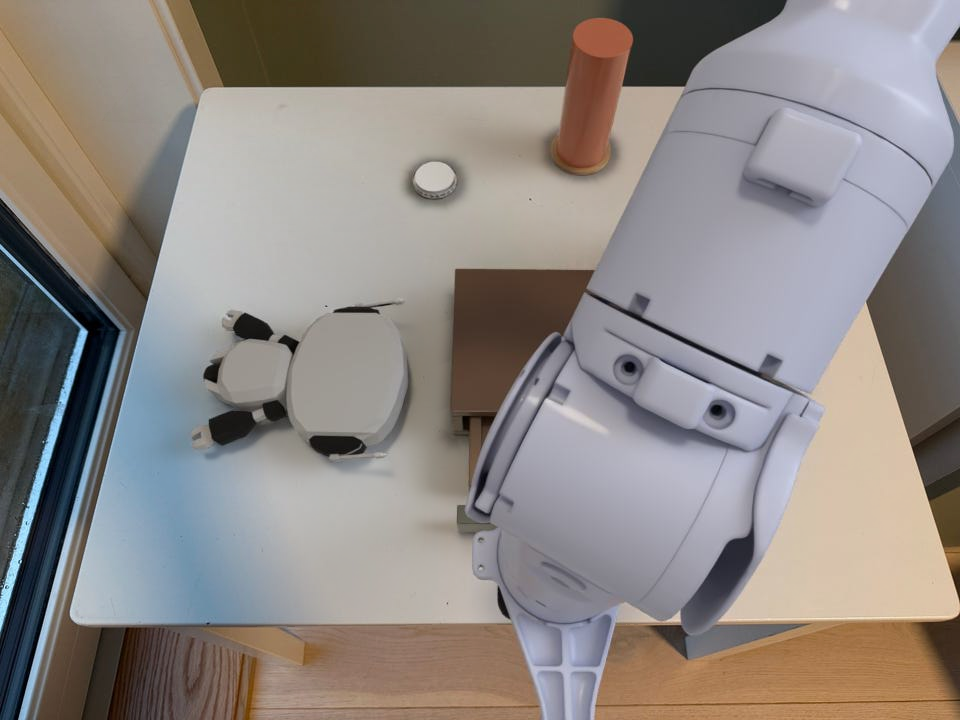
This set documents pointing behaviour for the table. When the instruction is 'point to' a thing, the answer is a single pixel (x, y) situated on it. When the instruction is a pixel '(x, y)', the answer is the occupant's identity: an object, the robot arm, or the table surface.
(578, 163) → the orange cylinder post
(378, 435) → the robot toy
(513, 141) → the table surface
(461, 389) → the cabinet
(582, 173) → the coaster
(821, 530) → the table surface
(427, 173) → the white bottle cap
